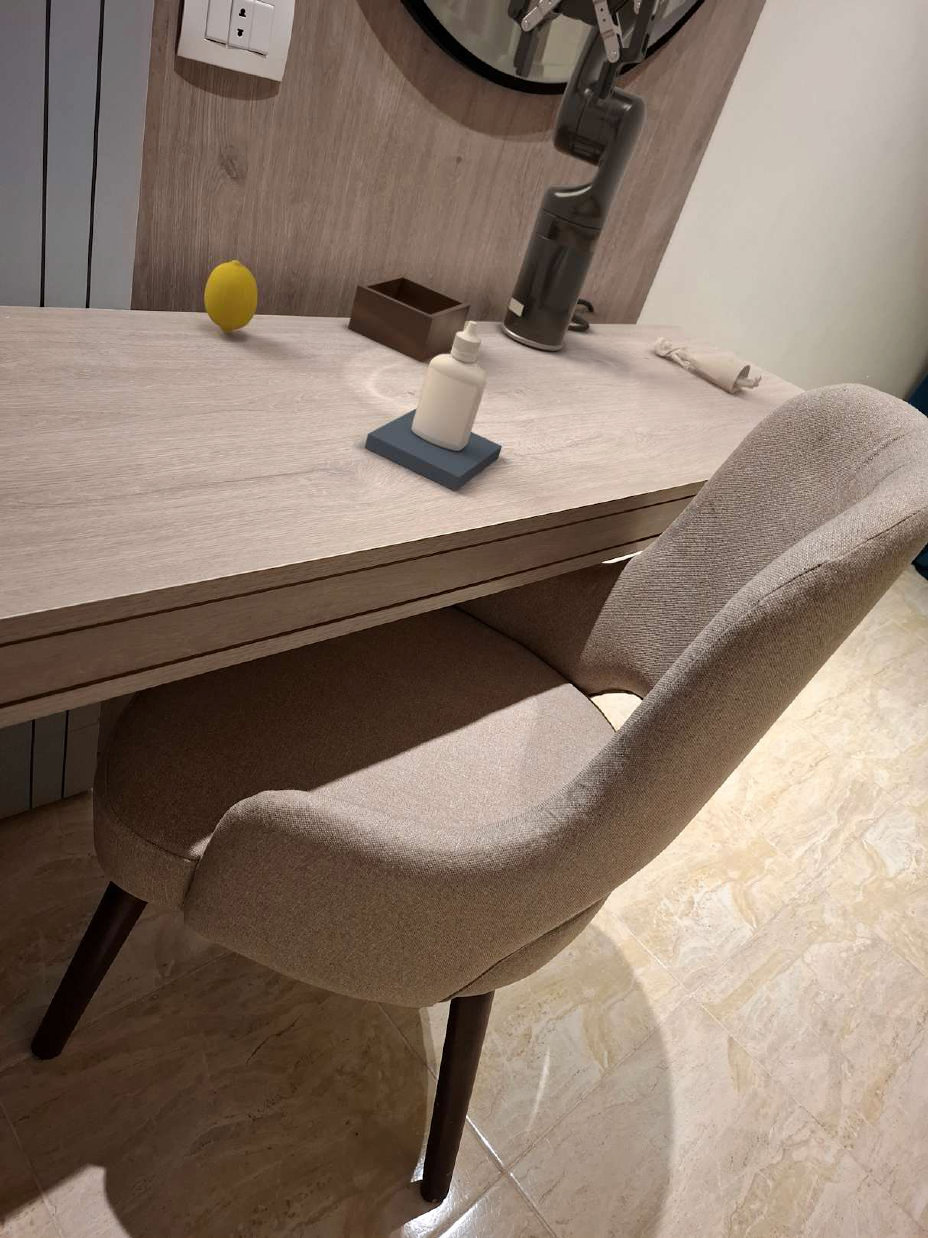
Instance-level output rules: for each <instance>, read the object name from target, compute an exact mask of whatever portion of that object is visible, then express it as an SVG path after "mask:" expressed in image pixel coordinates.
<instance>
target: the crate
mask: <svg viewBox="0 0 928 1238" xmlns="http://www.w3.org/2000/svg"><path fill="white" fill-rule="evenodd" d="M470 308H471V304H469V303H467V302H465V301H462V300H460V299H458V298H456V297H453V296H451V295H449V294H446V293H445V292H441V291H440V290H437V289H435V288H433V287H430V286H428V285H426V284H424V283H421V282H419V281H417V280H414V279H413V278H409V277H407V276H405V275H402V274H398V275H394V276H389V277H385V278H381V279H380V278H379V279H377V280H373V281H369V282H365V283H360V284H357V286H356V290H355V295H354V299H353V303H352V309H351V314H350V318H349V323H348V326H347V329H348V330H351V331H352V332H355V333H357V334H359V335H361V336H364V337H366V338H368V339H371V340H373V341H375V342H377V343H380V344H381V345H384V346H385V347H388V348H390V349H392V350H395V351H396V352H399V353H401V354H404V355H406V356H408V357H409V358H413V359H414V360H417V361H419V362H424V361H426V360H428V359H430V358H434V357H436V356H438V355H441V354H443V353H444V352H446V351H448V350H452V346H453V343H454V339H455V336H456V333H457V332H462V331H464V330H465V325H466V323H467V318H468V315H469V313H470Z"/></svg>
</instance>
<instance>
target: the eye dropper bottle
mask: <svg viewBox="0 0 928 1238" xmlns="http://www.w3.org/2000/svg"><path fill="white" fill-rule="evenodd" d="M477 327H478V324H477V322H476V321H474V320H469V321H468V324H467V325H466V327H465V328H464V329H463V331H462V332H457V333H456V336H455V339H454V343H453V346H452V348H451V349H450V353H440V354H437V355H435V356H433V357H432V359H431V360H430V362H429V365H428V367H427V371H426V373H425V378H424V382H423V385H422V388H421V391H420V395H419V399H418V402H417V406H416V408H417V409H416V408H415V409H416V413H415V416H414V420H413V424H412V431H413V433H414V434H416V435H417V436H419V437H420V438H422V439H424V440H426V441H428V442H430V443H432V444H434V445H437V446H439V447H442V448H446V449H449V450H453V451H459V450H461V449H463V448H464V447H465V446H466V445H467V442H468V439H469V436H470V433H471V432H472V431H473V428H474V427H473V426H474V423H475V420H476V417H477V414H478V411H479V409H480V406H481V405H480V404H481V401H482V398H483V396H484V391H485V388H486V385H487V380H488V377H487V375H486V373H485V371H484V370H483V369H482V368H481V367H480V366H479V365H478V364H476V363H475V361H476V360H477V356H478V352H479V349H480V346H481V343H482V340H481V338H480V337H479V336H477Z"/></svg>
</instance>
